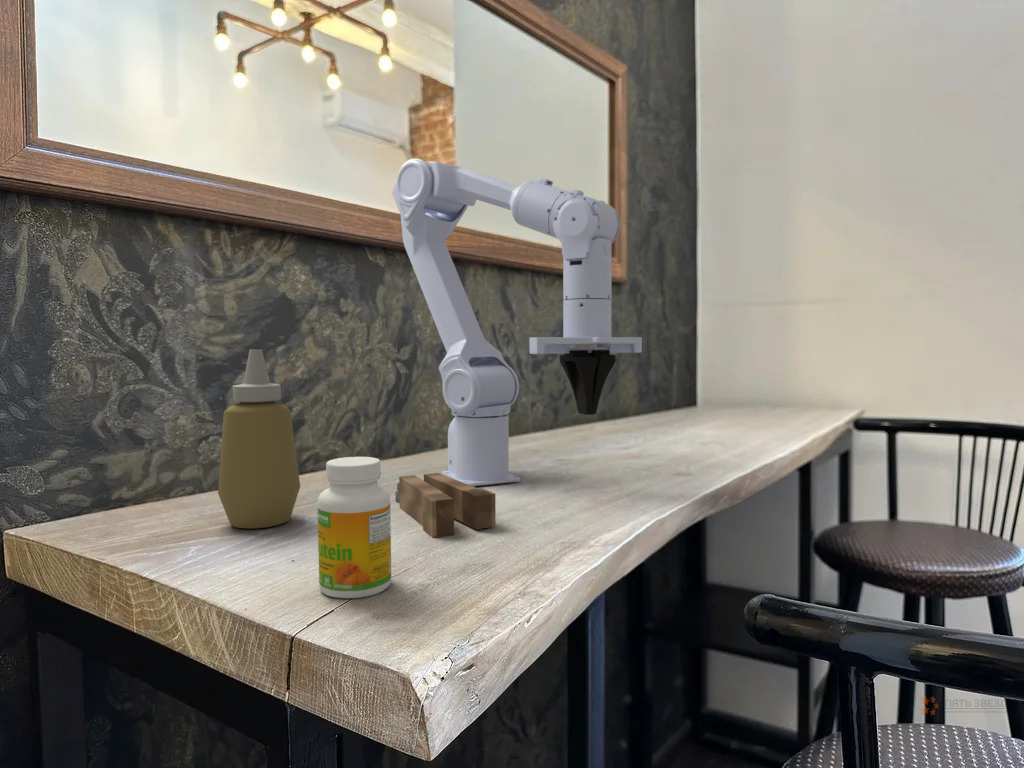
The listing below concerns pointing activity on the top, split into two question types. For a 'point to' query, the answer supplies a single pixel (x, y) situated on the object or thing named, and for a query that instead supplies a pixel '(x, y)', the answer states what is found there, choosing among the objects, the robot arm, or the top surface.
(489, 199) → the robot arm
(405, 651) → the top surface
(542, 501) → the top surface
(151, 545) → the top surface
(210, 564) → the top surface
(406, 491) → the brown wooden block
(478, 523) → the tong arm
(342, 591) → the supplement bottle
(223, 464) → the squeeze bottle
